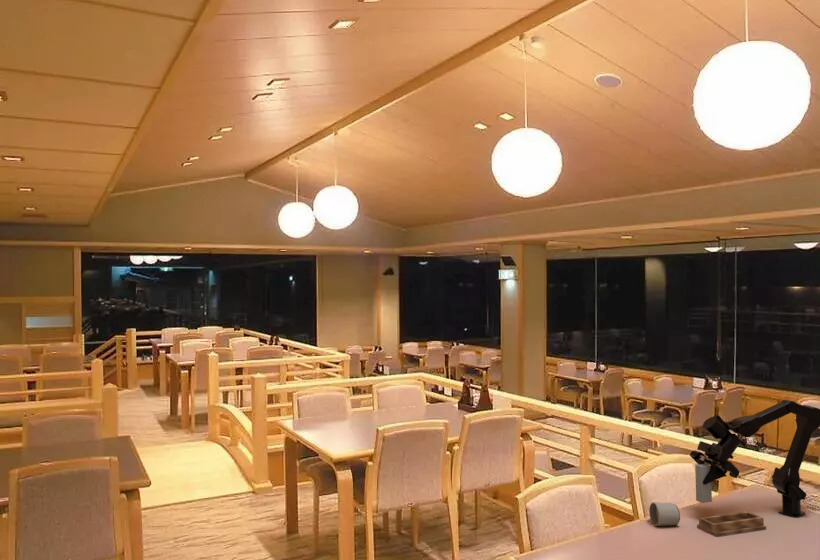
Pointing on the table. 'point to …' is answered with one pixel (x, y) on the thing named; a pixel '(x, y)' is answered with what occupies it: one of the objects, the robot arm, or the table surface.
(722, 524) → the open rectangular wooden box
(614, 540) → the table surface
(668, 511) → the ceramic mug
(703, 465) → the tall grey pillar block
